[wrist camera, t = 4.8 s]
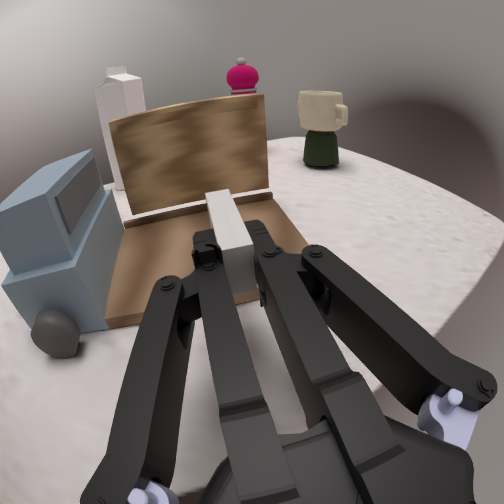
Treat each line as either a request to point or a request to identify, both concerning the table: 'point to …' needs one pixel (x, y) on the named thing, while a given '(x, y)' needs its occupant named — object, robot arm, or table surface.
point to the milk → (118, 107)
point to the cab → (61, 251)
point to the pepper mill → (242, 78)
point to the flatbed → (180, 252)
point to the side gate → (191, 151)
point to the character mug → (321, 125)
